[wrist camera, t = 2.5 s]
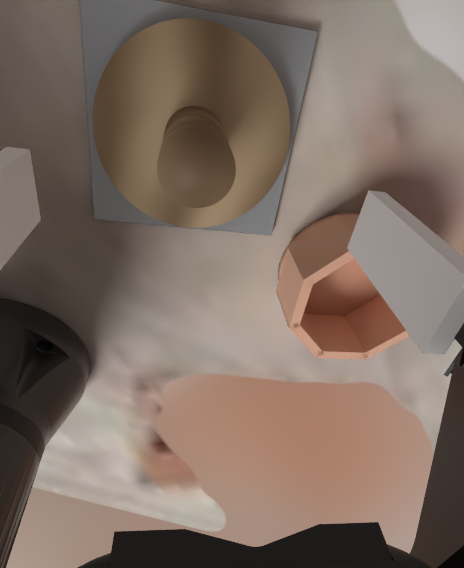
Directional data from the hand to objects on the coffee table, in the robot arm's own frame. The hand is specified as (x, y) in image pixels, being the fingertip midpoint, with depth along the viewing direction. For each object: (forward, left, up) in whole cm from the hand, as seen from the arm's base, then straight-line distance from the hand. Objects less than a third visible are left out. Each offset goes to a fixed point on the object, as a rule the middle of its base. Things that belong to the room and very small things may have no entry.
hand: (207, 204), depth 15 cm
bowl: (+14, -10, -13) cm, 22 cm away
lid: (0, 0, -13) cm, 13 cm away
